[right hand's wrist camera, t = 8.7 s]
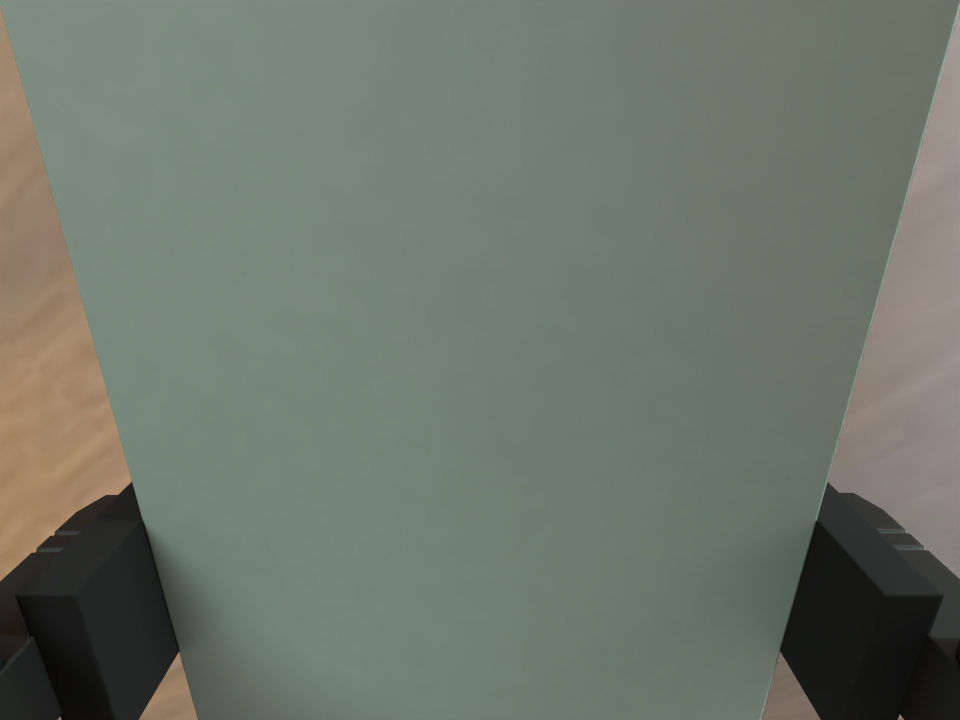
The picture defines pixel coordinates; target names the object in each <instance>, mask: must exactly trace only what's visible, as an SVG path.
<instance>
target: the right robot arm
mask: <svg viewBox="0 0 960 720" xmlns="http://www.w3.org/2000/svg"><path fill="white" fill-rule="evenodd" d="M178 652H179V649H178V646H177V642H176V638H175V635H174V631H173V628H172V624H171V620H170V617H169V613H168V609H167V606H166V602H165V599H164V595H163V591H162V588H161V584H160V581H159V577H158V573H157V570H156V566H155V562H154V559H153V555H152V552H151V548H150V544H149V541H148V537H147V533H146V530H145V526H144V523H143V519H142V515H141V512H140V508H139V505H138V501H137V497H136V494H135V490H134V486H133V483H132V482H131V483H130V484H129V485H128V486H127V487H126V488H125V489H124V490H123V491H122V492H121V493H120V494H119V495H106V496H104V497H102V498H100V499H99V500H97V501H95V502H93V503H92V504H90V505H88V506H86V507H85V508H83V509H81V510H79V511H77V512H76V513H75V514H74V515H73V516H72V517H71V518H70V519H68V520H67V521H66V522H65V523H64V524H63V525H62V526H61V527H60V528H59V529H57V530H56V531H55V535H54V536H50V537H49V538H48V539H46V540H45V541H44V542H43V543H42V544H41V545H40V546H39V547H38V548H37V551H36V553H31V554H30V555H29V556H28V557H27V558H26V559H25V560H23V561H22V562H21V563H20V564H19V565H18V566H17V567H16V568H15V569H14V570H12V571H11V572H10V573H9V574H8V575H7V576H6V577H5V578H4V579H3V580H1V581H0V720H57V719H58V718H59V717H60V716H61V719H62V720H139V718H140V716H141V715H142V713H143V711H144V710H145V708H146V706H147V705H148V703H149V701H150V699H151V698H152V696H153V694H154V693H155V691H156V689H157V688H158V686H159V684H160V683H161V681H162V679H163V678H164V676H165V674H166V672H167V671H168V669H169V667H170V666H171V664H172V662H173V661H174V659H175V657H176V656H177V654H178ZM780 652H781V653H782V655H783V657H784V658H785V660H786V662H787V663H788V665H789V667H790V668H791V670H792V672H793V674H794V675H795V677H796V679H797V680H798V682H799V684H800V685H801V687H802V689H803V690H804V692H805V694H806V695H807V697H808V699H809V700H810V702H811V704H812V706H813V707H814V709H815V711H816V712H817V714H818V716H819V717H820V719H821V720H898V717H899V714H901V716H902V717H903V719H904V720H960V579H959V578H958V577H957V576H956V575H954V574H953V573H952V572H951V571H950V570H949V569H948V568H947V567H946V566H945V565H943V564H942V563H941V562H940V561H939V560H938V559H937V558H936V557H935V556H934V555H932V554H931V553H930V552H929V551H924V549H923V546H922V545H921V544H920V543H919V542H918V541H917V540H916V539H915V538H914V537H913V536H911V535H910V534H906V533H905V529H904V528H903V527H901V526H900V525H899V524H898V523H897V522H896V521H895V520H894V519H893V518H892V517H890V516H889V515H888V514H887V513H886V512H885V511H884V510H882V509H881V508H879V507H877V506H875V505H874V504H872V503H870V502H868V501H867V500H865V499H863V498H861V497H860V496H858V495H856V494H854V493H838V492H837V491H836V490H835V489H834V488H833V487H832V486H831V485H830V484H829V483H828V482H827V485H826V488H825V492H824V496H823V499H822V503H821V506H820V510H819V513H818V517H817V521H816V524H815V528H814V531H813V535H812V538H811V542H810V546H809V549H808V553H807V556H806V560H805V563H804V567H803V571H802V574H801V578H800V581H799V585H798V588H797V592H796V596H795V599H794V603H793V606H792V610H791V613H790V617H789V621H788V624H787V628H786V631H785V635H784V638H783V642H782V646H781V649H780Z"/></svg>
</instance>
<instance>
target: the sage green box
mask: <svg viewBox="0 0 960 720" xmlns="http://www.w3.org/2000/svg"><path fill="white" fill-rule="evenodd" d="M0 5H1V9H2V13H3V16H4V20H5V23H6V27H7V31H8V34H9V38H10V41H11V45H12V49H13V52H14V56H15V60H16V63H17V67H18V70H19V74H20V78H21V81H22V85H23V89H24V92H25V96H26V99H27V103H28V107H29V110H30V114H31V117H32V121H33V125H34V128H35V132H36V136H37V139H38V143H39V146H40V150H41V154H42V157H43V161H44V164H45V168H46V172H47V175H48V179H49V183H50V186H51V190H52V193H53V197H54V201H55V204H56V208H57V212H58V215H59V219H60V222H61V226H62V230H63V233H64V237H65V240H66V244H67V248H68V251H69V255H70V259H71V262H72V266H73V269H74V273H75V277H76V280H77V284H78V287H79V291H80V295H81V298H82V302H83V306H84V309H85V313H86V316H87V320H88V324H89V327H90V331H91V335H92V338H93V342H94V345H95V349H96V353H97V356H98V360H99V363H100V367H101V371H102V374H103V378H104V382H105V385H106V389H107V392H108V396H109V400H110V403H111V407H112V410H113V414H114V418H115V421H116V425H117V429H118V432H119V436H120V439H121V443H122V447H123V450H124V454H125V458H126V461H127V465H128V468H129V472H130V476H131V479H132V483H133V486H134V490H135V494H136V497H137V501H138V505H139V508H140V512H141V515H142V519H143V523H144V526H145V530H146V533H147V537H148V541H149V544H150V548H151V552H152V555H153V559H154V562H155V566H156V570H157V573H158V577H159V581H160V584H161V588H162V591H163V595H164V599H165V602H166V606H167V609H168V613H169V617H170V620H171V624H172V628H173V631H174V635H175V638H176V642H177V646H178V649H179V653H180V656H181V660H182V664H183V667H184V671H185V675H186V678H187V682H188V685H189V689H190V693H191V696H192V700H193V703H194V707H195V711H196V714H197V718H198V720H761V717H762V714H763V710H764V706H765V703H766V699H767V696H768V692H769V688H770V685H771V681H772V678H773V674H774V671H775V667H776V663H777V660H778V656H779V653H780V649H781V646H782V642H783V638H784V635H785V631H786V628H787V624H788V621H789V617H790V613H791V610H792V606H793V603H794V599H795V596H796V592H797V588H798V585H799V581H800V578H801V574H802V571H803V567H804V563H805V560H806V556H807V553H808V549H809V546H810V542H811V538H812V535H813V531H814V528H815V524H816V521H817V517H818V513H819V510H820V506H821V503H822V499H823V496H824V492H825V488H826V485H827V481H828V478H829V474H830V471H831V467H832V463H833V460H834V456H835V453H836V449H837V446H838V442H839V438H840V435H841V431H842V428H843V424H844V421H845V417H846V413H847V410H848V406H849V403H850V399H851V395H852V392H853V388H854V385H855V381H856V378H857V374H858V370H859V367H860V363H861V360H862V356H863V353H864V349H865V345H866V342H867V338H868V335H869V331H870V328H871V324H872V320H873V317H874V313H875V310H876V306H877V303H878V299H879V295H880V292H881V288H882V285H883V281H884V278H885V274H886V270H887V267H888V263H889V260H890V256H891V253H892V249H893V245H894V242H895V238H896V235H897V231H898V228H899V224H900V220H901V217H902V213H903V210H904V206H905V203H906V199H907V195H908V192H909V188H910V185H911V181H912V178H913V174H914V170H915V167H916V163H917V160H918V156H919V153H920V149H921V145H922V142H923V138H924V135H925V131H926V128H927V124H928V120H929V117H930V113H931V110H932V106H933V102H934V99H935V95H936V92H937V88H938V85H939V81H940V77H941V74H942V70H943V67H944V63H945V60H946V56H947V52H948V49H949V45H950V42H951V38H952V35H953V31H954V27H955V24H956V20H957V17H958V13H959V10H960V0H0Z"/></svg>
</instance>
